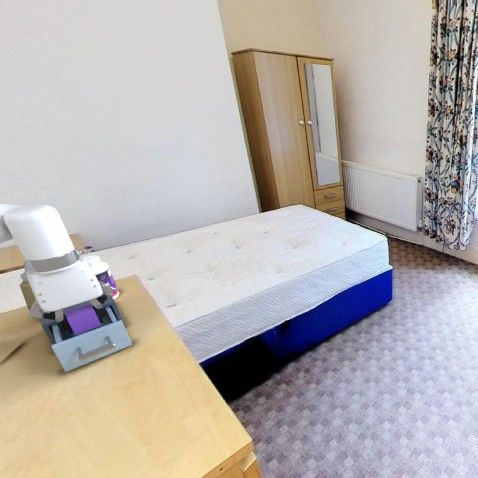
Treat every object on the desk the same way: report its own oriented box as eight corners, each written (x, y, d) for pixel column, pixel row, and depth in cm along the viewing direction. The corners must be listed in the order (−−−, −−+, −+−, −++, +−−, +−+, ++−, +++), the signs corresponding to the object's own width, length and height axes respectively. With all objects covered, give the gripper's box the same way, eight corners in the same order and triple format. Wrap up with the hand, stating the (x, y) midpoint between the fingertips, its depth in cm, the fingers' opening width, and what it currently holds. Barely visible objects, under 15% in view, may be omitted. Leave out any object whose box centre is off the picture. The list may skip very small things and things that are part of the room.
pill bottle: (84, 310, 96) (63, 268, 90) (87, 298, 101) (68, 258, 96) (120, 301, 101) (103, 260, 95) (120, 289, 106) (104, 251, 100)
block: (101, 325, 79) (94, 310, 78) (75, 335, 76) (67, 319, 74) (97, 317, 82) (90, 303, 80) (72, 326, 79) (64, 311, 77)
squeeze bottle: (46, 309, 96) (17, 256, 88) (81, 304, 98) (55, 252, 91) (26, 326, 89) (-6, 270, 81) (65, 320, 91) (36, 265, 84)
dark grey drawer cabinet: (126, 328, 89) (114, 301, 86) (58, 355, 80) (41, 325, 76) (114, 307, 98) (103, 281, 94) (51, 328, 88) (36, 300, 85)
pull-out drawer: (137, 354, 79) (127, 331, 76) (68, 384, 71) (54, 359, 68) (119, 321, 90) (110, 300, 87) (58, 344, 82) (45, 321, 79)
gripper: (101, 244, 80) (127, 304, 87) (-7, 268, 68) (33, 336, 75) (108, 253, 76) (134, 315, 83) (-6, 281, 63) (36, 351, 71)
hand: (86, 325), depth 79 cm, fingers closed on block, 4 cm apart
